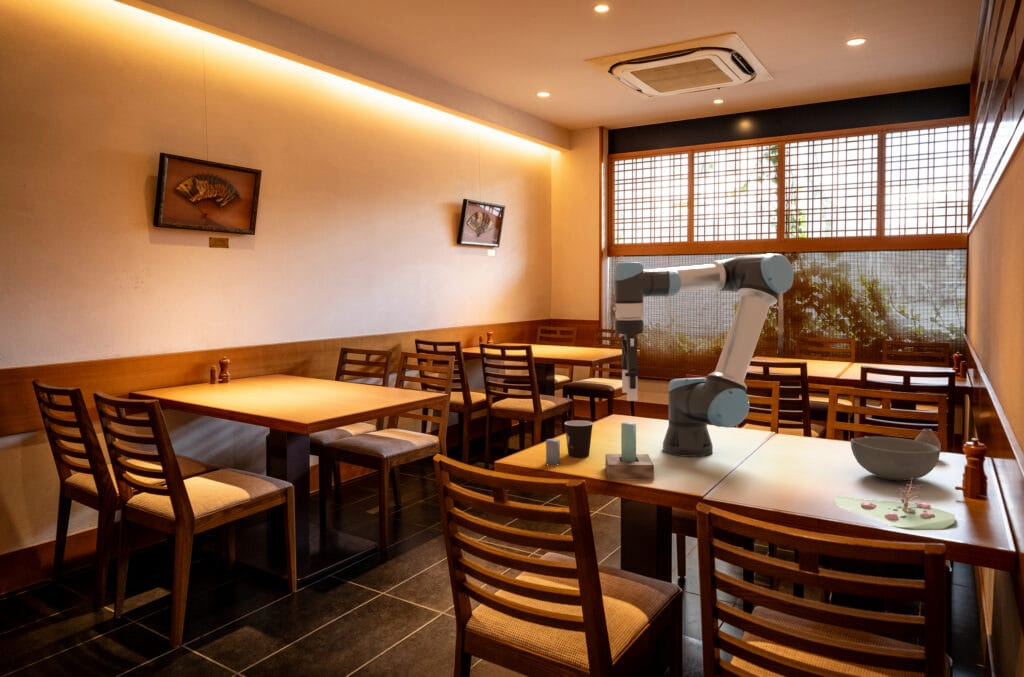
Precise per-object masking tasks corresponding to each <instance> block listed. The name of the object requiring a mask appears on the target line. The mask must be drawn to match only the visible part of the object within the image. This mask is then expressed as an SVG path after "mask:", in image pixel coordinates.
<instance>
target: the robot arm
mask: <svg viewBox="0 0 1024 677" xmlns="http://www.w3.org/2000/svg"><path fill="white" fill-rule="evenodd" d="M792 266H793V265H792V263H791V262H790V260H789V259H788V258H787V257H786V256H785V255H783V254H781V253H770V252H767V253H765V254H764V253H763V254H748V255H739V256H734V257H730V258H726V259H719V260H712V261H710V262H708V263H707V264H700V265H698V264H697V265H686V266H673V267H662V268H651V269H650V268H649V269H645V268H644V264H643V262H641V261H624V262H623V261H620V262H618V263H616V265H615V270H614V278H613V281H612V287H613V291H614V301H615V302H614V303H615V306H614V307H613V308H612V310H613V311H615V312H614V313H615V318H616V320H615V322H614V323H615V324H614V326H615V327H614V328H615V334H617V335H621V364H620V366H621V368H622V369H621V377H622V378H621V387H622V388H621V391H622V392H621V393H623V394H627V395H626V400H627V402H637V401H638V399H639V396H638V395H639V394H638V393H639V391H638V390H639V389H638V388H639V387H638V384H639V382H638V380H639V377H638V375H639V374H640V371H639V363H638V362H639V361H638V360H639V358H638V357H639V356H638V340H637V339H638V338H637V337H635V335H641V334H643V333H644V320H643V319H642V318H644V298H647V297H648V298H649V297H652V298H653V297H654V298H655V297H664V298H665V297H666V298H667V297H673V296H676V295H677V294H678V293H679V292H681V293H682V292H690V291H691V292H692V291H701V290H710V291H712V292H731V293H738V295H739V297H740V300H739V302H738V305H737V309H736V311H735V314H734V317H733V320H732V322H731V325H730V329H729V331H728V334H727V336H726V339H725V342H724V345H723V348H722V350H721V353H720V356H719V359H718V362H717V365H716V367H715V369H714V371H712V372H711V373H709V374H707V377H686V378H685V377H684V378H674V379H671V380H669V384H668V391H667V393H668V427H667V429H666V433H665V435H664V438H663V441H662V451H663V452H665V453H667V454H671V455H675V456H683V457H703V456H709V455H711V454H712V453H713V443H712V438H711V435H710V432H709V430H708V429H709V428H708V424H709V425H713V426H715V427H717V428H718V427H719V428H720V427H721V428H722V427H723V428H729V429H730V428H733V427H735V426H738V425H740V424H741V423H743V421H744V420H745V419H746V417H747V415H748V414H749V411H750V402H749V400H750V397H749V395H748V394H747V393H746V392H747V390H748V386H747V384H746V382H745V379H746V375H747V373H748V370H749V368H750V365H751V361H752V359H753V356H754V353H755V350H756V348H757V344H758V341H759V338H760V335H761V333H762V330H763V327H764V324H765V321H766V319H767V315H768V314H769V313H768V312H769V311H770V310H769V309H770V307H772V306H774V305H776V304H777V302H778V301H779V298H780V295H781V294H785V293H786V292H788V291H789V290H790V289H791V288H792V286H793V283H794V278H795V275H794V274H795V272H794V269H793V267H792Z"/></svg>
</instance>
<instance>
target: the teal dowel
mask: <svg viewBox="0 0 1024 677" xmlns="http://www.w3.org/2000/svg"><path fill="white" fill-rule="evenodd" d="M620 426H621V428H620V429H621V430H620V434H621V436H620V440H621V445H620V446H621V447H620V448H621V453H620V454H621V462H636V454H637V422H633V421H625V422H621V425H620Z"/></svg>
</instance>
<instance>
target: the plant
mask: <svg viewBox="0 0 1024 677" xmlns="http://www.w3.org/2000/svg"><path fill="white" fill-rule="evenodd" d="M913 480H914V479H913V478H911V480H910V484H909V483H906V486H905V490H904V489H902V488H901V487H898V489H899V490H895V493H896V494H897V496H899V495H898V493H900V490H901V491H902V492H903V493H902V494H900V498H901V499H900V500H901V502H900V501H892V500H891V501H890V500H883V501H877V500H878V499H873V500H864V499H865V498H862V499H854V498H855V497H851V498H849V497H847V496H835V497H834V498H833V500H834V499H835V502H834V504H835V503H836V504H835V506H836V505H837V506H840V507H841V508H845V509H848V510H855V511H860V512H861V513H863V514H868V515H870V516H872V517H875V518H877V519H879V520H881V521H884V522H886V523H888V524H890V525H892V526H894V527H893V528H897V527H898V528H897V529H904V530H910V531H911V530H913V531H939V530H940V531H941V530H945V529H947V528H949V527H950V526H952V525H954V524H955V523H956V515H955V514H954V513H951V512H948V511H945V510H942V509H939V508H935V507H932V506H931V504H929V503H927V502H924V503H921V502H915V503H910V501H912V500H913V499H915V497H918V498H921V496H920V495H916V494H917V493H919V494H921V491H917V492H914V493H913V491H914V490H915V489H914V488H916V487H917V488H916V489H918V490H921V487H923V483H922V484H920V485H917V484H916V485H915V486H914V484H913V482H912V481H913ZM907 487H908V488H907ZM906 489H907V490H906ZM904 495H905V497H904ZM912 495H913V497H911V498H910V496H912ZM874 500H875V501H874ZM837 506H836V507H837ZM841 508H840V509H841ZM892 526H891V527H892Z"/></svg>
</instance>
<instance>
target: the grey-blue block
mask: <svg viewBox="0 0 1024 677" xmlns="http://www.w3.org/2000/svg"><path fill="white" fill-rule="evenodd" d="M560 442H561V440H560V439H558V438H547V439H546V440H545V465H547V464H548V465H547V466H551V465H556V466H558V465H557V464H559V465H560V464H561V457H560V456H561V455H560V454H561V450H560V449H561V446H560V444H561V443H560Z"/></svg>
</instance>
